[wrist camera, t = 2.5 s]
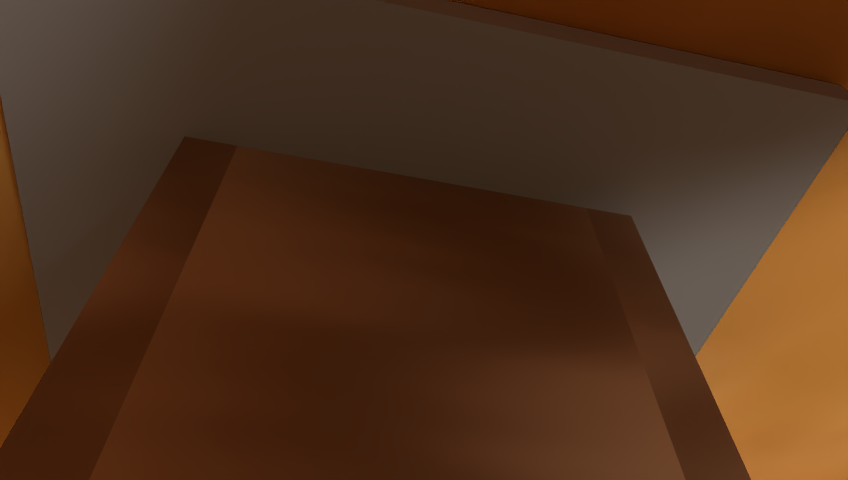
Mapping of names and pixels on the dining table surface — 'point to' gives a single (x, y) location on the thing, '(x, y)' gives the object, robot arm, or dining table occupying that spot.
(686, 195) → the board
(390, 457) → the box
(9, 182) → the dining table surface
